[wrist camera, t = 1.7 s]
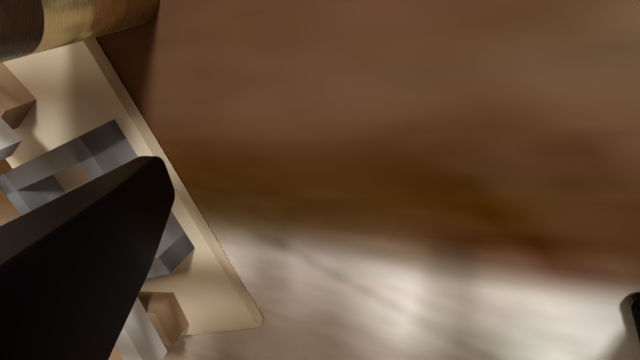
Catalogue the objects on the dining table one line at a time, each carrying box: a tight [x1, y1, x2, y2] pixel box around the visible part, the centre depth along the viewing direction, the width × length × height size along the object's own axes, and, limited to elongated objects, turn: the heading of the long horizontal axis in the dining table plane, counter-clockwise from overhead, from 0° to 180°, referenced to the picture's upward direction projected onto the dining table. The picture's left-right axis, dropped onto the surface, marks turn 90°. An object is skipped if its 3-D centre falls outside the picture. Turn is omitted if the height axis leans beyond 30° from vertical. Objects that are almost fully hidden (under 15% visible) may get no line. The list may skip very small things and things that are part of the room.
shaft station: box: [0, 38, 264, 360], centre depth 27 cm, size 22×12×5 cm, turn 27°
